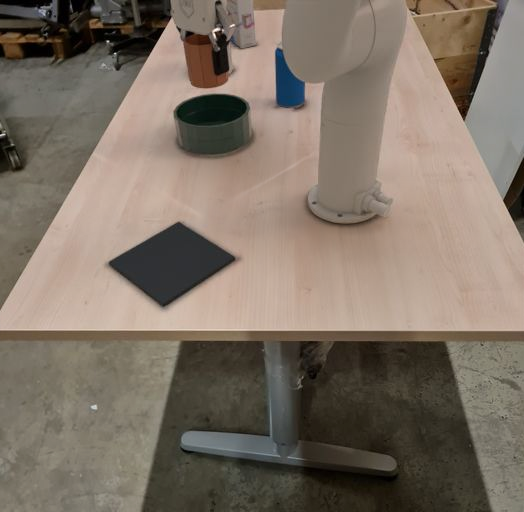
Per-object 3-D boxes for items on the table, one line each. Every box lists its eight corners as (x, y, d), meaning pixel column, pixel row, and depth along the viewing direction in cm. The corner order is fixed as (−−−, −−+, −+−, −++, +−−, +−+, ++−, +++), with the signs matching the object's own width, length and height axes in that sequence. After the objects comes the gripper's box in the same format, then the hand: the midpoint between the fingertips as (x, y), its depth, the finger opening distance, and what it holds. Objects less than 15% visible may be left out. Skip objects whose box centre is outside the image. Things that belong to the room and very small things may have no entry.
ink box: (228, 40, 138) (224, -10, 129) (244, 36, 139) (241, -13, 130) (240, 49, 133) (236, -3, 124) (256, 45, 134) (254, -6, 125)
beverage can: (302, 111, 106) (303, 50, 97) (273, 109, 107) (272, 49, 98) (306, 98, 110) (307, 39, 101) (279, 97, 112) (277, 38, 102)
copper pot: (236, 78, 91) (232, 36, 86) (207, 92, 88) (200, 48, 82) (212, 70, 94) (206, 29, 89) (182, 83, 91) (175, 41, 86)
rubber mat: (235, 259, 74) (235, 256, 74) (163, 307, 68) (162, 304, 68) (179, 224, 81) (178, 221, 81) (109, 264, 75) (108, 261, 75)
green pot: (266, 136, 100) (265, 106, 95) (211, 165, 93) (207, 135, 88) (218, 115, 107) (214, 87, 102) (164, 141, 100) (158, 112, 96)
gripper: (140, -54, 79) (163, 65, 92) (209, -44, 70) (224, 85, 83) (176, -63, 82) (193, 53, 95) (246, -54, 73) (254, 72, 87)
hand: (207, 67), depth 89 cm, fingers closed on copper pot, 7 cm apart
